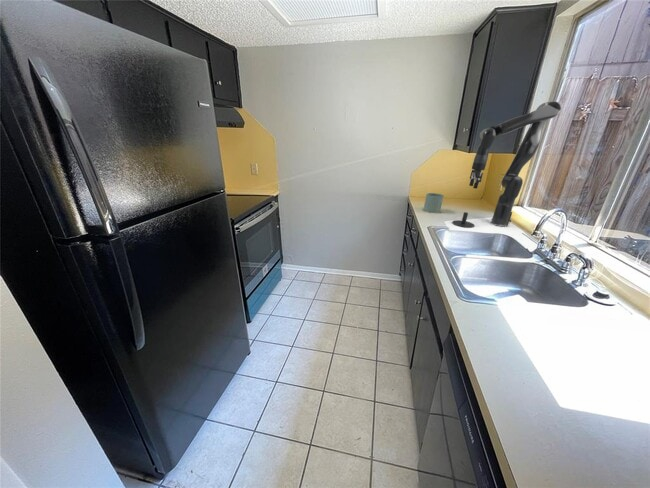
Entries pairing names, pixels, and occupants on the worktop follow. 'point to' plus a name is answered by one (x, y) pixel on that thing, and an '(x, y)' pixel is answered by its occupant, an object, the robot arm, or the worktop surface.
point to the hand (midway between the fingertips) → (472, 187)
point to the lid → (463, 222)
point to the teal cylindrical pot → (433, 202)
